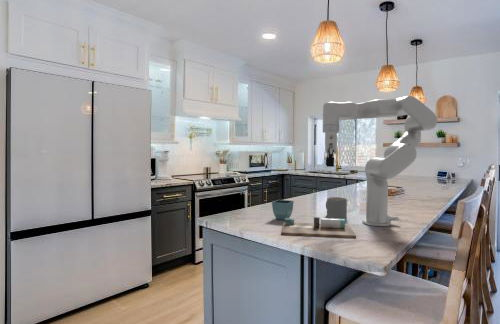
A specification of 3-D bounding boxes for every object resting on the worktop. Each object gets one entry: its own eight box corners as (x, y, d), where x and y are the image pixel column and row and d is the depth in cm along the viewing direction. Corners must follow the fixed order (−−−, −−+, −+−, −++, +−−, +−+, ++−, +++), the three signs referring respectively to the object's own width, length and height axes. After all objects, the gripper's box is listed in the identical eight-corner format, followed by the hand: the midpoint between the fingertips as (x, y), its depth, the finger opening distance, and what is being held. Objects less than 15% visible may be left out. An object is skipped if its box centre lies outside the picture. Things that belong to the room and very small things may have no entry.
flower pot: (271, 219, 159) (271, 202, 159) (278, 216, 167) (278, 199, 167) (287, 221, 155) (287, 203, 155) (293, 218, 163) (293, 200, 163)
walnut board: (349, 227, 145) (349, 215, 144) (356, 238, 127) (356, 225, 127) (283, 224, 149) (283, 213, 149) (281, 234, 132) (281, 222, 131)
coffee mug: (350, 219, 160) (350, 199, 160) (332, 220, 158) (332, 200, 158) (337, 213, 174) (337, 195, 173) (320, 214, 171) (321, 196, 171)
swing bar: (344, 226, 139) (344, 218, 139) (344, 228, 137) (345, 220, 137) (320, 225, 141) (320, 218, 141) (320, 227, 138) (321, 219, 138)
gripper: (340, 128, 138) (339, 167, 138) (337, 130, 155) (336, 165, 155) (323, 128, 139) (322, 166, 140) (322, 130, 156) (321, 164, 157)
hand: (329, 166), depth 147 cm, fingers open, 9 cm apart
